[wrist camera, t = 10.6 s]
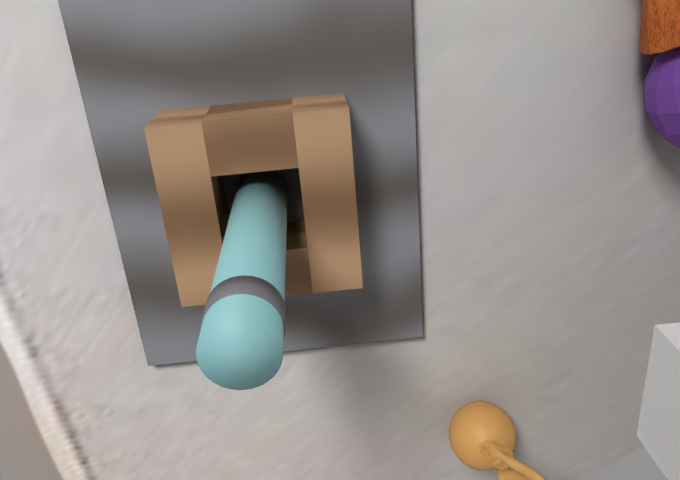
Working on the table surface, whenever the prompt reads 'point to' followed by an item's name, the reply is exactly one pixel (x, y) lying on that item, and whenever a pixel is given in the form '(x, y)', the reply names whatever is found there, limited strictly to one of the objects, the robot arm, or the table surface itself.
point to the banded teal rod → (248, 288)
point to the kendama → (662, 65)
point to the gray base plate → (257, 155)
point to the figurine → (488, 441)
